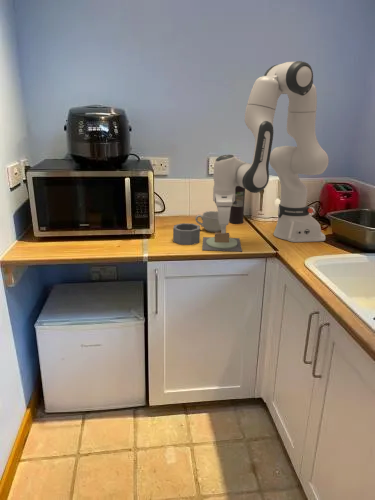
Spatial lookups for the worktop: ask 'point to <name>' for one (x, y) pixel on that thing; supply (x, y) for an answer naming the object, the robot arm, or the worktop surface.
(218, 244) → the lid
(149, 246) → the worktop surface
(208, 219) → the teacup
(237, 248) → the mat
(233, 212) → the wine bottle
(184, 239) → the octagonal grey bowl
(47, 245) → the worktop surface
